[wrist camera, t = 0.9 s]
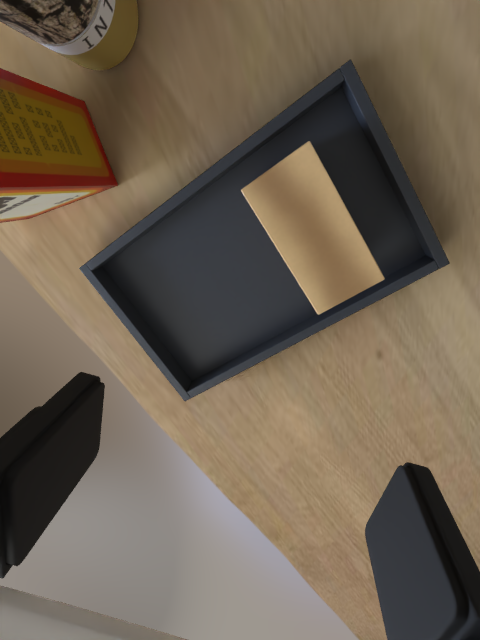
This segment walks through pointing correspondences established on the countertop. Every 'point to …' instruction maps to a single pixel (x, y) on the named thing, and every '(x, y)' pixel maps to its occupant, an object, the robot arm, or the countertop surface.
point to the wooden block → (313, 229)
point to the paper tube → (77, 27)
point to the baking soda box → (46, 150)
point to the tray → (261, 245)
